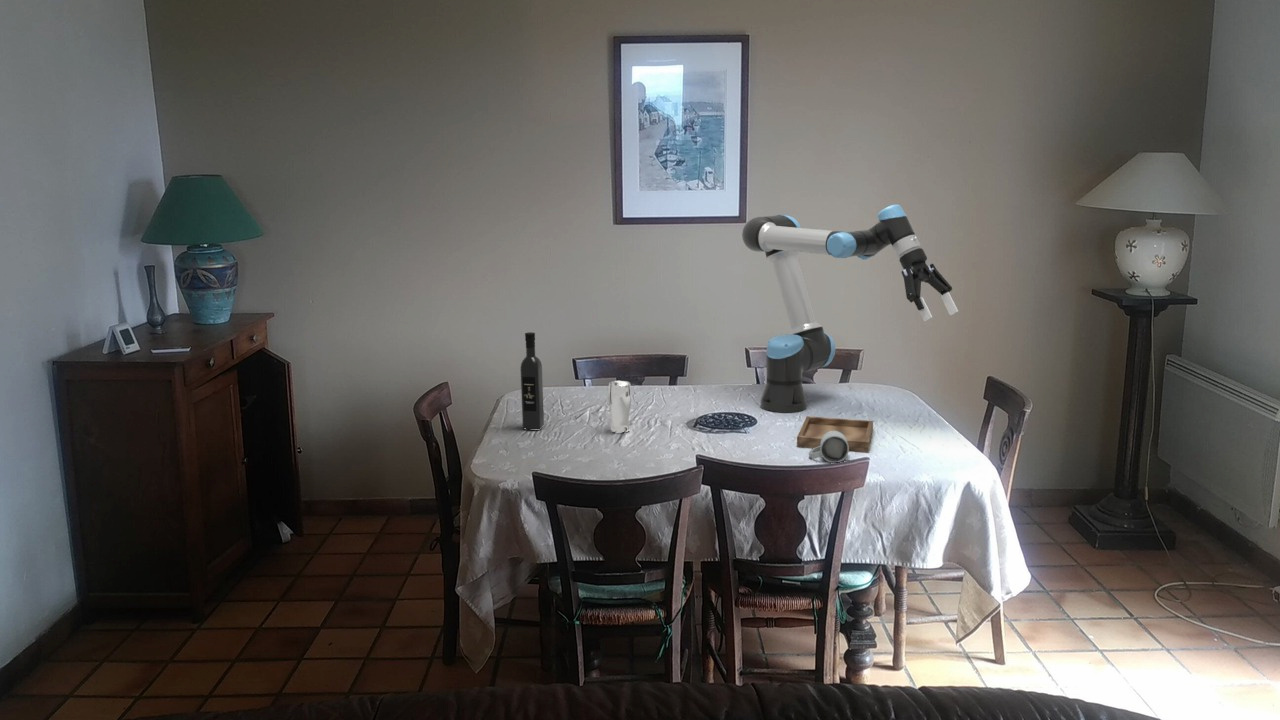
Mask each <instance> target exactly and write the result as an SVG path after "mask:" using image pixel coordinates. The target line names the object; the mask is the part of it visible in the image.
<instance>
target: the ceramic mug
mask: <svg viewBox="0 0 1280 720" xmlns="http://www.w3.org/2000/svg"><path fill="white" fill-rule="evenodd" d="M849 452H850V451H849V446H848V443H847V440H846V437H845V436H844V435H843V434H842V433H840V432H838V431H829V432H827V433H826V434H825V435H824V436H823V437H822V439H821V445H820V446H818V447H816V448H811V449H810V450H809V451H808V455H809V458H810V459H813V460H814V459H818V458H820V457H821V458H823V459H824V460H825V461H826V462H829V463H832V462H838V463H841V462H843V461H844V460H845V459H846V458H847V457H848V454H849ZM832 464H833V463H832Z"/></svg>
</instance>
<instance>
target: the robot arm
mask: <svg viewBox="0 0 1280 720" xmlns="http://www.w3.org/2000/svg"><path fill="white" fill-rule="evenodd" d="M877 219H878V222H877V223H875V225H873V226H872V227H870V228H868V229H864V230H855V231H841V230H839V231H838V230H829V229H828V230H827V229H818V228H817V229H816V228H815V229H814V228H805V227H804V228H803V227H802V226H801V224H800V222H798V221H797V219H796V218H794V217H792V216H790V215H784V214H777V215H769V216H768V215H767V216H757V217H753V218H751V219H750V220H748V221H747V223H745V224H744V227H743V229H742V233H741V236H742V241H743V243H744V245H745V246H746V248H748V249H749V250H751V251H753V252H756V253H757V252H760V253H761V252H764V254H765V256H766V260H768V261H770V262H771V263H772V265H773V269H774V272H775V275H776V279H777V282H778V286H779V289H780V293H781V296H782V297H781V298H782V300H783V304H784V307H785V310H786V315H787V318H788V322H789V325H790V329H791V331H790V332H789V334H781V335H776V336H774V337H772V338H770V339H769V340H768V341H767V344H766V345H767V346H766V353H765V354H766V381H765V382H766V384H765V385H764V386H765V387H764V389H763V392H762V396H761V398H760V407H761V408H762V409H763V408H764V409H763V410H766V411H769V410H770V411H769V412H775V413H797V412H803V411H804V410H806V409H807V406H808V403H807V402H808V401H807V397H806V393H805V390H804V387H803V373H806V372H809V371H814V370H820V369H822V368H823V367H824V368H825V367H827V366H829V365H830V363H832V361H833V359H834V358H835V353H836V345H835V344H836V343H835V341H834V338H833V337H832V336H831V335H829V334H828V333H826V332H825V331H824V328H823V325H821V324H819V323H818V322H817V319H816V317H815V314H814V313H815V312H814V309H813V306H812V302H811V298H810V295H809V293H808V288H807V285H806V281H805V278H804V274H803V271H802V268H801V264H800V261H799V257H798V254H799V253H806V254H808V253H809V254H818V255H827V256H831V257H833V258H835V259H847V258H850V257H852V258H853V257H858V258H859V259H861V260H866V261H867V260H868V259H870V258H872V257H874V256H876V255H877V254H878V253H880V252H882V250H884V249H886V248H887V247H888V246H889V245H891V247H892V248H893V250H894V253H895V255H896V257H897V258H898V259H899V262H900V265H901V267H902V269H903V270H902V271H901V275H902V277H903V282H904V289H905V296H906V300H907V301H909V303H914V304H915V306H916V309H917V310H918V312H919V314H920V317H921V318H922V320H923V322H927V321H928V320H930V319H932V318H933V315H932V313H931V311H930V309H929V307H928V304H926V300H925V299H924V297H921V291H922V289H921V288H922V282H924V283H925V284H926V283H927V284H928V285H930V286H931V287H932V288H933V289H934V290H936V291H937V292H938V293H939V294H940V295H941V296H940V298H941V300H942V303H943V305H944V306H945V308H946V310H947V312H948V315H949V316H952V315H955V314H956V313H958V312H959V310H958V307H957V306H956V303H955V302H954V301H955V300H954V299H953V298H952V295H951V294H950V292H952V291H953V287H952V286H951V284H950V283H949V282H948V281H947V280H946V279H945V277H944V276H943V275H942V274H941V273H940V272H939V270H938V269H937V268H936V266H935V264H934V263H931V264H928V265H927V263H926V261H927V260H928V257H927V255H926V253H925V250H924V249H923V248H921V247H922V245H921V243H920V241H919V240H918V236H917V234H916V233H915V232H914V229H913V227H912V225H911V223H910V221H909V219H908V215H907V214H906V213H905V211H904V209H903V207H902V206H901V205H900V204H892V205H889V206H887V207H885V208H883V209H882V210H880V211H879V213H878V214H877Z"/></svg>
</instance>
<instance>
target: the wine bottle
mask: <svg viewBox="0 0 1280 720" xmlns="http://www.w3.org/2000/svg"><path fill="white" fill-rule="evenodd" d="M524 339H525V351H526V352H525V355H526V356H525V357H524V358H523V359H522V361H521V364H520V369H519V370H520V388H521V389H520V390H521V392H520V393H521V394H520V395H521V413H522V414H521V415H522V417H521V419H522V429H523V428H526V429H540V428H541V427H542V426H543V425H544V426H545V418H544V414H545V413H544V411H545V410H544V390H543V389H544V388H543V387H544V383H543V365H542V362H541V360H540V358H539V357H537V356H536V341H535V340H536V333H535V332H533V331H532V332H528V331H527V332H525V333H524ZM544 426H543V427H544ZM543 427H542V428H543ZM542 428H541V429H542ZM541 429H540V430H541Z"/></svg>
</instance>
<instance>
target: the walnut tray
mask: <svg viewBox="0 0 1280 720" xmlns="http://www.w3.org/2000/svg"><path fill="white" fill-rule="evenodd" d="M800 427H801V428H800V430H799V432H798V434H797V436H796V447H797V448H805V449H807V448H808V449H814V448H816V447H818V446H820V445H821V439H822V437H823V436H824V435H825V434H826V433H827V432H829V431H838V432H840V433H842V434H843V435H844V436H845V437H846V440H847V443H848V446H849V452H856V453H858V452H859V453H869V451H870V448H871V447H870V446H871V441H872V436H873V432H874V421H873V420H867V419H866V420H865V419H863V420H862V419H851V418H834V417H823V416H806V417H805V419H804V422H803V423H802V425H801V426H800Z"/></svg>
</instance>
